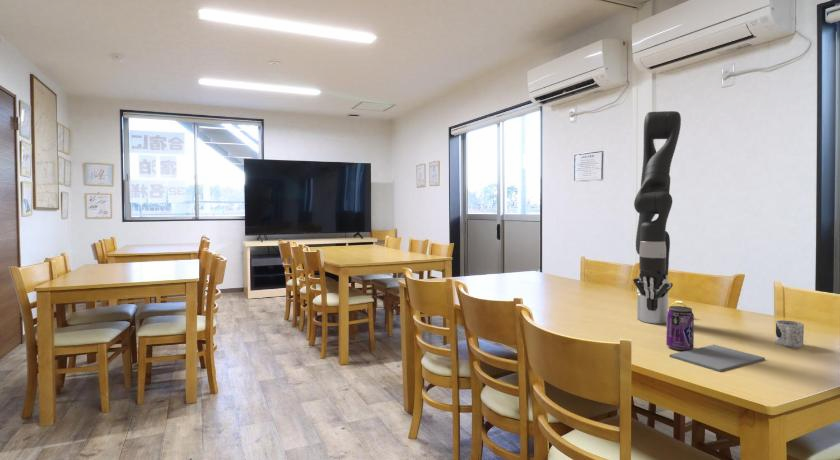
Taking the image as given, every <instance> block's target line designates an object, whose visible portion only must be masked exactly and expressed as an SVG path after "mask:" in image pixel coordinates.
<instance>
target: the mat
mask: <svg viewBox="0 0 840 460" xmlns="http://www.w3.org/2000/svg"><path fill="white" fill-rule="evenodd" d="M669 357H670V358H673V359H675V360H680V361H683V362H685V363H688V364H693V365H696V366H699V367H702V368H705V367H706V368H705V369H709V370H713V371H716V372H719V373H720V372H723V371H724V372H725V371H727V370H732V369H735V368H738V367H743V366H746V365H749V364H753V363H758V362H761V361H765V360H766V359H765V357H764V356H760V355H757V354H754V353H753V354H752V353H748V352H745V351H740V350H737V349H733V348H729V347H725V346H721V345H718V344H711V345H706V346H702V347H698V348H691V349H689V350H682V351H680V352H676V353H670V354H669Z"/></svg>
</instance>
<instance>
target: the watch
mask: <svg viewBox="0 0 840 460" xmlns="http://www.w3.org/2000/svg"><path fill="white" fill-rule="evenodd" d="M675 304H676V305H682V306H683V307H688V306H687V305H686V304H685V303H684V302H683V301H681V300H675V301H674V302H673V303H671V304H670V306H674V305H675Z"/></svg>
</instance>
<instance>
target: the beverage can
mask: <svg viewBox="0 0 840 460" xmlns="http://www.w3.org/2000/svg"><path fill="white" fill-rule="evenodd" d="M694 319H695V315H694V313H693V308H691V307H689V306H687V307H685V306H684V305H682V306H681V305H673V306H671V305H670V306H668V312H667V323H666V337H665V338H666V342H665V343H666V346H668V347H669V348H671V349H672V350H677V351H688V350H692V349H694V346H695V345H694V344H695V343H694V331H695V330H694V329H695V328H694V326H695V325H694V324H695V323H694V322H695V321H694Z"/></svg>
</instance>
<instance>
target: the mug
mask: <svg viewBox="0 0 840 460" xmlns="http://www.w3.org/2000/svg"><path fill="white" fill-rule="evenodd" d="M804 325H805V324H804V323H802V322H799V321H794V320H784V319H781V320H780V319H778V320H776V321H775V344H776V345H778V346H780V347H781V346H782V347H785V348H794V349H795V348H796V349H801V348H804V333H805V331H804V330H805V329H804V327H805V326H804Z"/></svg>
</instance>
